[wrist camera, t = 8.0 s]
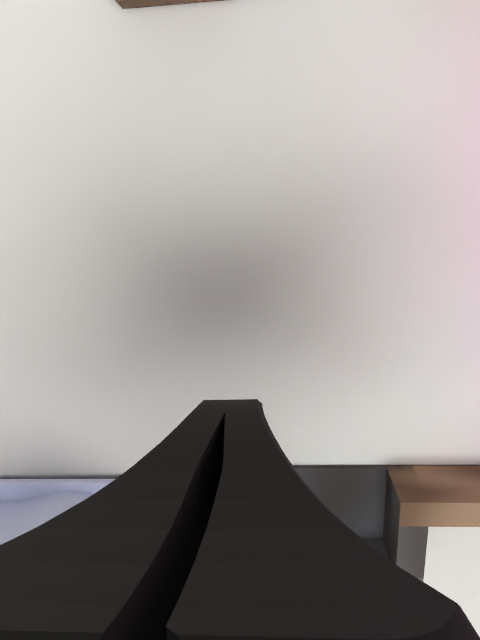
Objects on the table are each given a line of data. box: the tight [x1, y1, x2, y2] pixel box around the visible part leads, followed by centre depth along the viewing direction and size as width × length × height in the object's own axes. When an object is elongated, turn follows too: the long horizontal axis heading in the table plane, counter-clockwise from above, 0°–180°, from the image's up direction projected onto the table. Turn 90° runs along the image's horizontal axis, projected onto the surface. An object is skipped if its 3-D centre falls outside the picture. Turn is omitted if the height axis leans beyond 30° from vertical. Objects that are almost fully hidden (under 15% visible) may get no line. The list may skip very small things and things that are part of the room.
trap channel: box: [116, 0, 480, 582], centre depth 16 cm, size 23×29×4 cm
